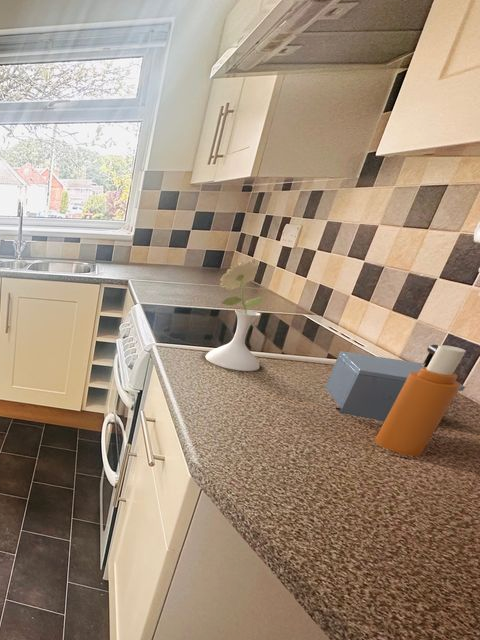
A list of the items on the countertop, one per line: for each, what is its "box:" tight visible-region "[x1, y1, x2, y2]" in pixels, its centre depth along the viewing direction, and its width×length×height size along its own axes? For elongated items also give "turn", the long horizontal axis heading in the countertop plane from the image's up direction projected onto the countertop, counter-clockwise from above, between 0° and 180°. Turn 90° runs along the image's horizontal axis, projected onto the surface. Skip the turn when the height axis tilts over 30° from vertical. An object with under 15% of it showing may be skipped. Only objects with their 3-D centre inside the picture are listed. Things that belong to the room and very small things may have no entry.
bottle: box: [374, 344, 466, 461], centre depth 66 cm, size 6×6×18 cm
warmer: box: [324, 354, 405, 422], centre depth 80 cm, size 14×12×9 cm
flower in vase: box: [205, 260, 264, 372], centre depth 96 cm, size 13×11×25 cm
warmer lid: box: [338, 344, 466, 392], centre depth 77 cm, size 14×12×5 cm
